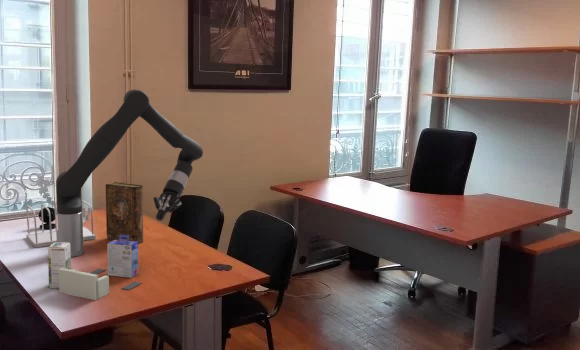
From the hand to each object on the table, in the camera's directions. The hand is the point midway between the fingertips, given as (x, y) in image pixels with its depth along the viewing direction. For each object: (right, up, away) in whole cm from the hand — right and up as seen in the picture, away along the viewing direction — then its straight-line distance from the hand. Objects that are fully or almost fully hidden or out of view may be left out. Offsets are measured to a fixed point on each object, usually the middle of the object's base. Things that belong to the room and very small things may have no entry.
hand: (158, 219), depth 218 cm
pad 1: (-19, -18, -16) cm, 31 cm away
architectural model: (-44, -6, +55) cm, 71 cm away
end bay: (-16, -21, -35) cm, 44 cm away
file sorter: (-49, -11, +25) cm, 56 cm away
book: (-20, -11, +25) cm, 34 cm away
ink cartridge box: (-9, -19, -17) cm, 27 cm away
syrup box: (-27, -20, -29) cm, 44 cm away
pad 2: (-3, -21, -28) cm, 35 cm away
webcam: (-62, -7, +42) cm, 75 cm away
